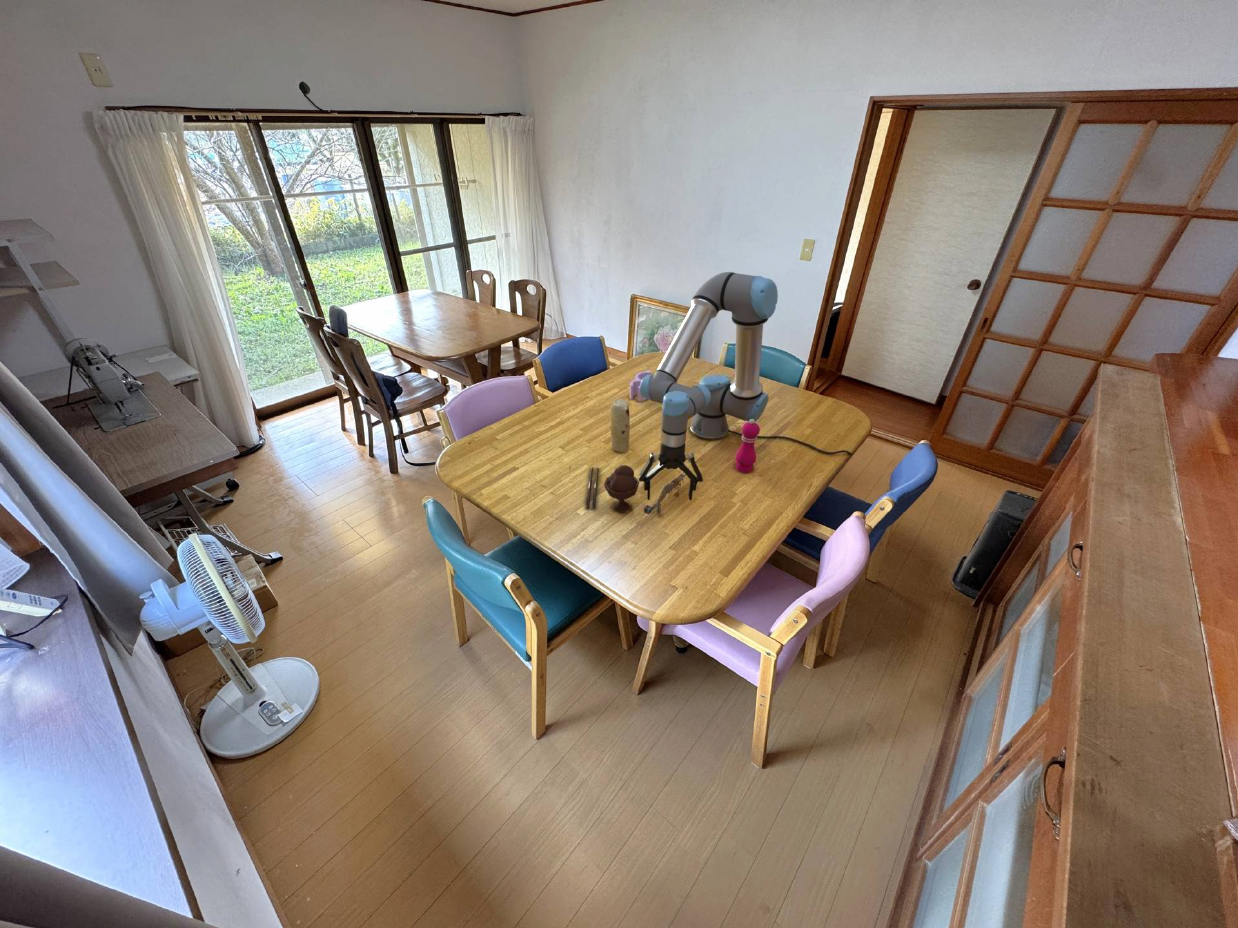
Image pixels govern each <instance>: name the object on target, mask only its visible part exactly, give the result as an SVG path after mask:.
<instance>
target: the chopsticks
mask: <svg viewBox="0 0 1238 928" xmlns="http://www.w3.org/2000/svg"><path fill="white" fill-rule="evenodd" d="M593 474H594V468H593V467H590V471H589V480H588V488H587V494H586V495H587V496H586V504H585V509H587V510H589V509H590V502H591V501H590V500H591V491H592V483H593ZM598 480H599V467H596V468H595V476H594V486H593V497H592V507H591V508H592V510H595V509H596V503H597V491H598V483H599V482H598Z"/></svg>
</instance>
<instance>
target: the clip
mask: <svg viewBox="0 0 1238 928" xmlns="http://www.w3.org/2000/svg"><path fill="white" fill-rule="evenodd" d="M646 375H652V371H651V369H647V371H645V370H644V371H640V372H637V373H636V374H635V376H634V379H633V380H631V381H630V382H629V400H634V396H637V402H645V401H646V400H648V399H647V398H645V397H643V396H642V395H641V393H640V384H641V381H642V379H643V378H644V377H645V376H646Z"/></svg>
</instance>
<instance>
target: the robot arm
mask: <svg viewBox="0 0 1238 928" xmlns="http://www.w3.org/2000/svg"><path fill="white" fill-rule="evenodd" d="M778 294H779V293H778V287H777V285H776V283H775V282H774V280H773V279H771V278H769V277H764V276H762V275H751V274H744V273H738V272H733V271H725V272H721V273H718V274H715V275H714V276H713V277H711V278H709V279H708V280H706V281H705V282H704V283H703V284H702V285H701V286H700V287H699V288H698V290H697V291H696V292H695V293H694V294H693V297H692V298H691V301H690V303H689V305H690V309H689V310H688V312H687V314H686V316H685V318H684V320H683V321H682V323H681V325H680V327H679V329H678V330H677V332H676V334H675V335H674V338H673V340H672V341H671V343H670V345H669V347H668V349H667V350H666V353H664V356H663V357H662V359H661V362H660V363H659V365H658V367H657V369H655V372H654V374H651V375H646V376H645V377H644V378H643V379H642V381H641V384H640V393H641V395H642V396H643V397H645V398H647V399H646V400H650V401H651V402H656V403H658V404H661V405H662V406H661V431H660V432H661V433H660V448H659V454H658V455H657V454H654V453H653V452H650V453H649V457H648V460H647V461H646V463H645V465H644V466H643V468H642V469H641V470H640V472H639V474H638V481H639V483H640V482H643V490H644V491H646V497H647V499H646V500H647V501H650V500H651V481H652V480H653V479H654V478H655V477H656V476H657V475H658V474H659V473H660V472H663V471H664V470H665V469H666V470H677V469H679V470H680V471H681V472H683V474H684V475H685V474H686V477H687V478H688V479H689V488H688V500H689V501H692V500H693V494H694V493H693V492H696V490H697V485H698V483H703V482H704V477H703V474H702V473H701V470H700V468H699V467H698V464H697V463H696V458H695V454H694V452H693V453H690V454H688V455H686V454H685V453H686V444H687V443H686V442H687V432H688V431H687V430H688V421H689V420H691V419H692V420H691V422H690V426H689V431H690V433H691V434H692V435H693V436H695V437H697V438H698V439H702V440H707V441H709V440H710V441H716V440H721V439H723V438H725V437H726V436H727V435H728V434H729V433H731V434H735V435H736V436H740V437H742V435H743V433H739V432H737V431H734V430H730V429H729V424H728V420H727V416H726V415H728V416H730V417H733V418H736V419H739V420H742V421H744V422H749V421H750V420H751V419H754V420H755V422H758V420H759V419H761V417H762V415H763V414H764V411H765V410H766V407H767V405H768V403H769V402H768V401H769V394H768V393H767V392H764V386H763V383H761V381H760V373H761V361H762V347H763V335H764V333H763V332H764V325H765V324H767V322H768V321H769V318H771V317H772V316H773V315H774V313H775V311H776V308H777V304H778V299H779V298H778V297H779V295H778ZM720 311H726V312H730V313H731V322H732V323H733V324H734V325H735V354H734V381H733V382H732V383H731V381H732V380H731V378H730V377H729V376H728V375H725V374H709V375H706V376H704V377H702V378H701V379H700V380H699V383H698V384H696V385H695V384H694V385H693V386H687V385H685V384H681V383H678V381H679V378H680V377H681V376H682V375H681V374H682V373H683V371H684V369H685V367H686V366H687V364H688V362H689V360H690V358H691V357H692V355H693V353H694V351H695V349H696V348H697V346H698V344H699V343H700V340H701V338H702V336H703V335H704V333H705V331H706V329H707V328H708V325H709V324H710V322H711V320H712V319H715V318H716V317H717V316H718V314H719V312H720ZM757 439H784V440H789V441H793V442H795V443H798V444H800V445H804V446H806V447H808V448H811V449H813V450H815V451H818V452H819V453H823V454H827V455H836V454H841V453H846V454H848V456H852V453H851V452H850V451H848V450H846V449H843V450H837V451H826V450H822V449H820V448H817V447H816V446H814V445H813V444H812V445H811V444H809V443H807V442H804V441H801V440H799V439H796V438H792V437H789V436H782V435H770V436H769V435H767V436H766V435H764V436H763V435H757ZM657 461H658V462H657ZM685 461H687V462H688V463H690V465H691V467H692V469H693V472H694V473H695V474H694V473H693V472H692V471H691V469H690V468H689V467H688V466H687V465H686V464H685ZM656 462H657V464H656V465H655V466H654V467H653V465H654V463H656ZM652 467H653V468H652ZM651 468H652V469H651Z"/></svg>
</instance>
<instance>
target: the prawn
mask: <svg viewBox="0 0 1238 928" xmlns="http://www.w3.org/2000/svg"><path fill="white" fill-rule="evenodd" d="M686 477H687V475H686V474H685V473H680V474H679V475H678V476H677V477H674V479H672V480H670V481H669V482H667V481H664V483H665V482H666V484H665V485H664V486H663V488H662V489H661V492H660V494H659V496H658V498H657V502H655V503H654V504H653V505H652V506H651V505H649V504H646V505H645V506H644V507H643V513H644V514H646V515H650V514H651V513H652V512H653V511H655V510H656V513H657V514H658V515H659V516H661V512H662V506H661V505H662V504H661V503H662V502H663V501H664V499H665V498H666V497H667V496H668V495H669V496H668V498H667V500H669V499H670V497H671V495H672V492H673V490H676V491H677V492H676V495H678V494H679V489H681V490H682V492H683V493H685V492H684V490H683V487H682V485H684V483H685V482H684V480H686V479H688V477H687V478H686ZM682 483H683V484H682Z"/></svg>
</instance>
